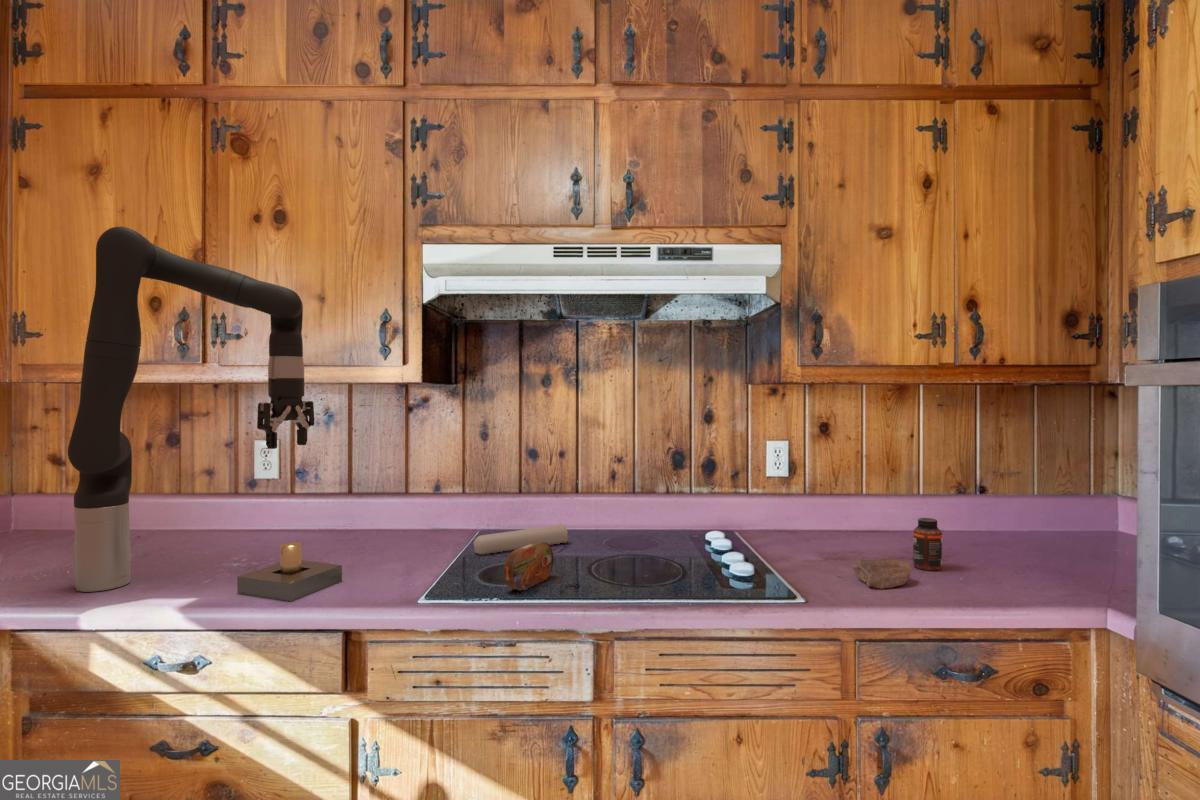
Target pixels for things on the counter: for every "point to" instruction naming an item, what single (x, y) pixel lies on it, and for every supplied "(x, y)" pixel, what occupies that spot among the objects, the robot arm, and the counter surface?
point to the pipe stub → (290, 558)
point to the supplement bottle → (927, 545)
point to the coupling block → (289, 581)
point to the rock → (882, 572)
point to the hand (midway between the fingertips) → (287, 446)
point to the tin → (528, 565)
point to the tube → (519, 539)
